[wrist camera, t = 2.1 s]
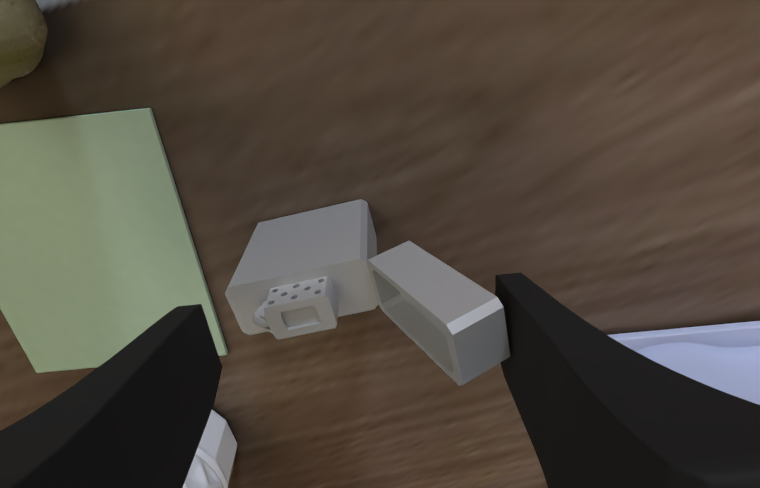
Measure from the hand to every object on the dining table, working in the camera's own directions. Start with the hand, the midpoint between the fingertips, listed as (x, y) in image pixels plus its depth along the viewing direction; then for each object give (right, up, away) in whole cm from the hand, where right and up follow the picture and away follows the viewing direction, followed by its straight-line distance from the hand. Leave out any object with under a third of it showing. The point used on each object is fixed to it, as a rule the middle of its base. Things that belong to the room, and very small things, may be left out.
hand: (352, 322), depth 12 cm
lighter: (0, +3, +5) cm, 6 cm away
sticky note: (-10, +2, +6) cm, 12 cm away
